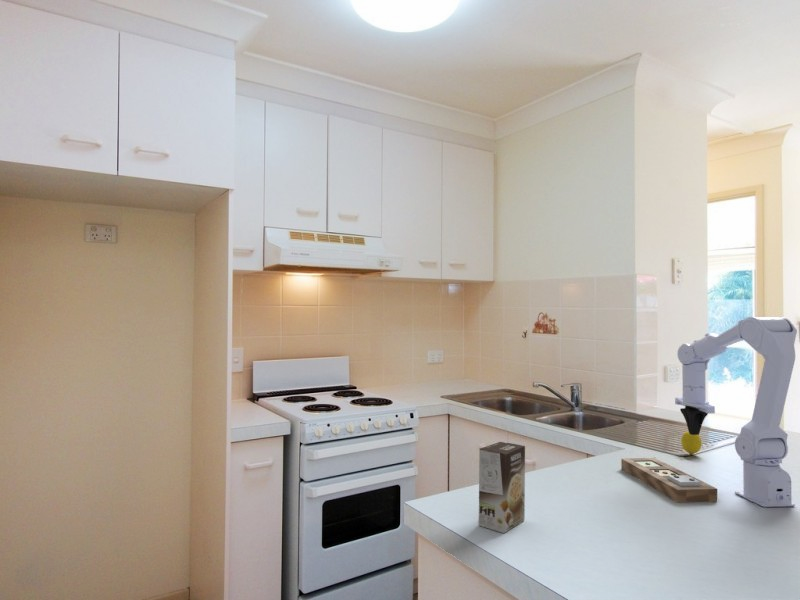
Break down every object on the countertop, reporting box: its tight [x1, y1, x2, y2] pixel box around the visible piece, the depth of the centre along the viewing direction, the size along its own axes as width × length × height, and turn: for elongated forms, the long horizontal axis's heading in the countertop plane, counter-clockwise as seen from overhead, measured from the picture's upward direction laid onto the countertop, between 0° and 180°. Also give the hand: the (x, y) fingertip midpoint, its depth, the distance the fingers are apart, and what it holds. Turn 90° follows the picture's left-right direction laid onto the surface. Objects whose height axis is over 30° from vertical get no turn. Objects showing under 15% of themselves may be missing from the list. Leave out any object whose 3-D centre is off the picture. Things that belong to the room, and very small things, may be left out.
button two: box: [668, 474, 701, 486], centre depth 128 cm, size 5×5×3 cm
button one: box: [636, 461, 659, 467], centre depth 144 cm, size 5×5×3 cm
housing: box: [620, 457, 718, 503], centre depth 136 cm, size 26×10×3 cm, turn 5°
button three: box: [651, 470, 677, 476], centre depth 136 cm, size 5×5×3 cm
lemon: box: [681, 430, 702, 456], centre depth 164 cm, size 6×6×8 cm
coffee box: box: [478, 441, 526, 534], centre depth 110 cm, size 9×6×16 cm
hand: (694, 434), depth 147 cm, fingers closed
